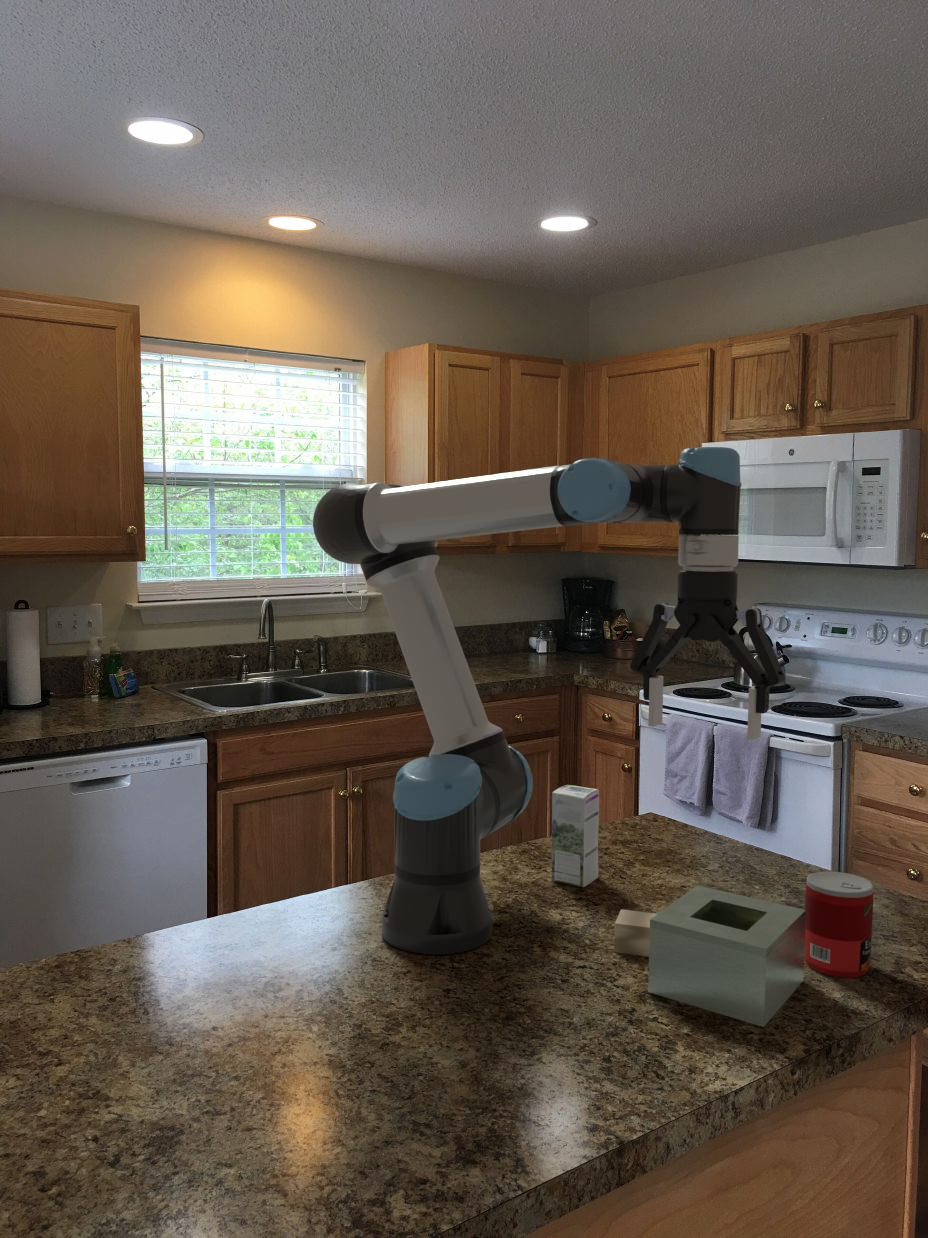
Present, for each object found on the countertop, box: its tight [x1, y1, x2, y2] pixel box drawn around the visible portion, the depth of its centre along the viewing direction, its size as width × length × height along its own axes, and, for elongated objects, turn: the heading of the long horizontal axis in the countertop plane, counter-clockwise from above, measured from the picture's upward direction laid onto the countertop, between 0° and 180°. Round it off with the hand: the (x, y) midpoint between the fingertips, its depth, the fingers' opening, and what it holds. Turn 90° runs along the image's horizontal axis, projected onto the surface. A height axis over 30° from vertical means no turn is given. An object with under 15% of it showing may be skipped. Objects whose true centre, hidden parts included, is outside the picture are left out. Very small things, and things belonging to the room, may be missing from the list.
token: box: [613, 908, 658, 958], centre depth 132 cm, size 5×5×4 cm
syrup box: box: [551, 784, 600, 888], centre depth 157 cm, size 6×6×14 cm
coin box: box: [647, 885, 806, 1028], centre depth 121 cm, size 14×14×9 cm
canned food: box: [804, 871, 875, 979], centre depth 127 cm, size 8×8×11 cm
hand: (703, 731), depth 131 cm, fingers open, 13 cm apart
